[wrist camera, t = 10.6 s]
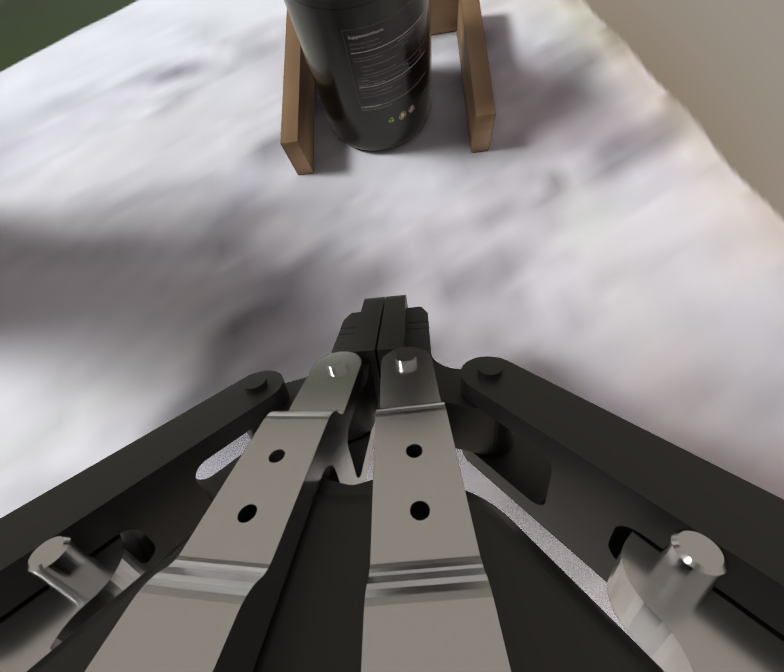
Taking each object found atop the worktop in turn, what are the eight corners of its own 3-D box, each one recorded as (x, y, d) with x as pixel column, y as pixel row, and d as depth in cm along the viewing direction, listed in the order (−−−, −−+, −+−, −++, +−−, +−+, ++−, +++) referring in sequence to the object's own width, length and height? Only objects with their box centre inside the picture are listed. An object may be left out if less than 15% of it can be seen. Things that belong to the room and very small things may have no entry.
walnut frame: (298, 174, 21) (280, 143, 18) (302, 46, 23) (287, 4, 21) (487, 150, 20) (495, 113, 17) (469, 17, 22) (474, -32, 20)
